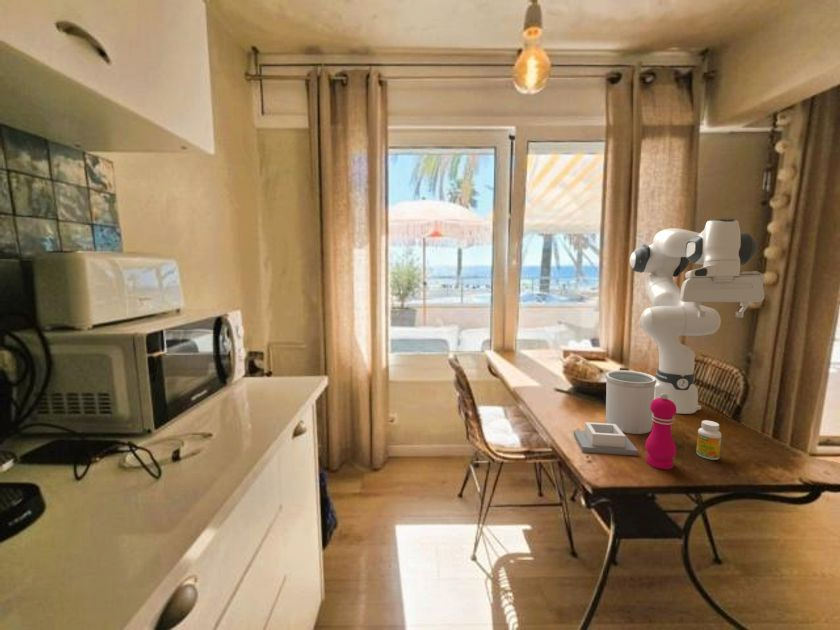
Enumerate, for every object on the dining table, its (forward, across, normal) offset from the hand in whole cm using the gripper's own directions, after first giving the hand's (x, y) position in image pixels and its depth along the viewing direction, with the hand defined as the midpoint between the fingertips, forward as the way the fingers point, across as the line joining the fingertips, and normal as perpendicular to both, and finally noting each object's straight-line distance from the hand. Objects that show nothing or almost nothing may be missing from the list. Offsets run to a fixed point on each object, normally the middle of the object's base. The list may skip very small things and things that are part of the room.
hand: (720, 317), depth 118 cm
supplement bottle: (+40, +5, +10) cm, 41 cm away
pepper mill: (+41, +18, +20) cm, 49 cm away
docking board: (+39, +32, +12) cm, 52 cm away
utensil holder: (+38, +24, -6) cm, 45 cm away
